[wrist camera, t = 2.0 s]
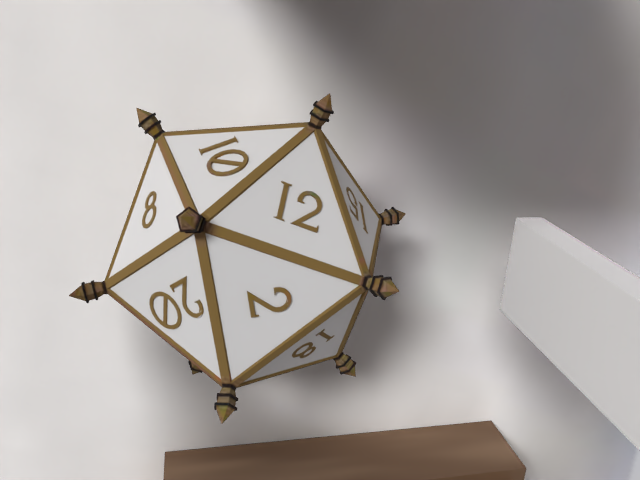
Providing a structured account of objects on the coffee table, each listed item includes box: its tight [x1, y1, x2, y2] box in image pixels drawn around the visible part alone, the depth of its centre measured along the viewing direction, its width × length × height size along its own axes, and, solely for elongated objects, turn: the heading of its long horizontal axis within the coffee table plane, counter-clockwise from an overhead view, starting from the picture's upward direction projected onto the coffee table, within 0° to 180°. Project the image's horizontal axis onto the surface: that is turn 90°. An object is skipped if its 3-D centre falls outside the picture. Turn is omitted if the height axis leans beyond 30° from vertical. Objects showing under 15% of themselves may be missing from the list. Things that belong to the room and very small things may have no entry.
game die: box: [69, 94, 405, 423], centre depth 17 cm, size 9×8×10 cm
